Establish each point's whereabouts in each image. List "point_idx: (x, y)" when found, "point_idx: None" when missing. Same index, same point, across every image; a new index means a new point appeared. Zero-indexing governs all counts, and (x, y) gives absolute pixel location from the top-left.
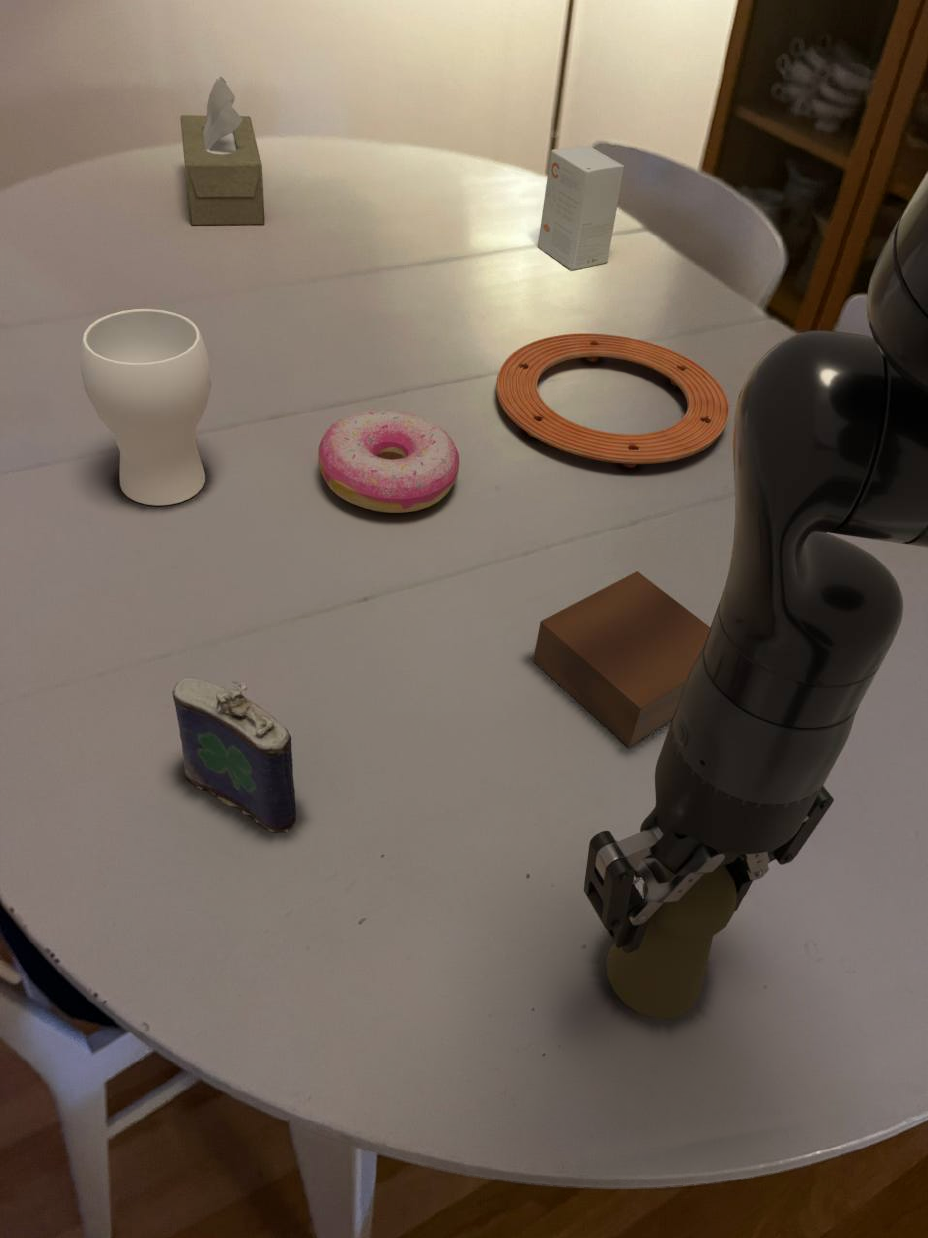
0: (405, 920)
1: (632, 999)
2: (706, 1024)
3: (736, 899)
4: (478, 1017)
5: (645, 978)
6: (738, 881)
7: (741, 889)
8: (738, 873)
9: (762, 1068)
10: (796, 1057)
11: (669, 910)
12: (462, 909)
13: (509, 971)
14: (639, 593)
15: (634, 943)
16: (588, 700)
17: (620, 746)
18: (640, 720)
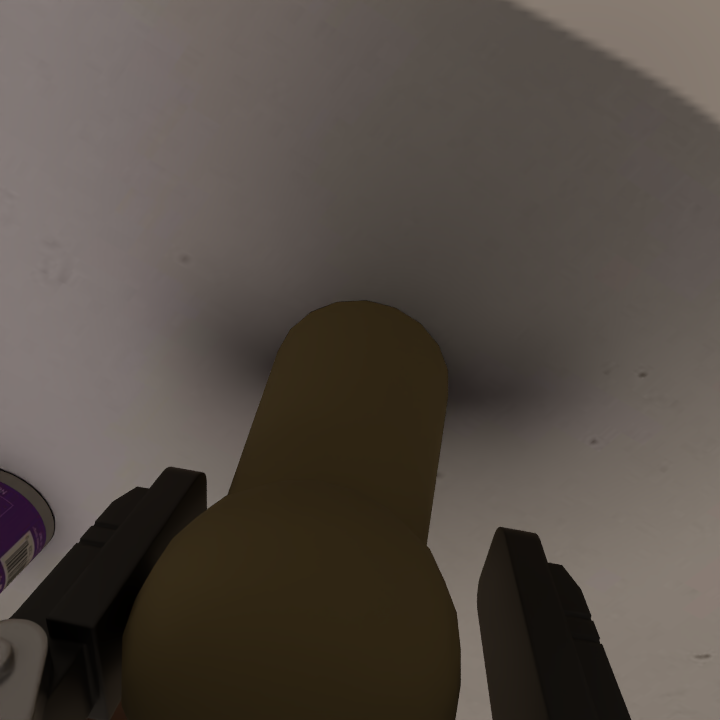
0: (648, 629)
1: (443, 373)
2: (336, 261)
3: (150, 532)
4: (682, 476)
5: (434, 409)
6: (105, 629)
7: (112, 584)
8: (86, 659)
9: (292, 128)
10: (211, 107)
11: (446, 699)
12: None
13: (576, 504)
14: None
15: (540, 576)
16: None
17: None
18: (120, 711)
